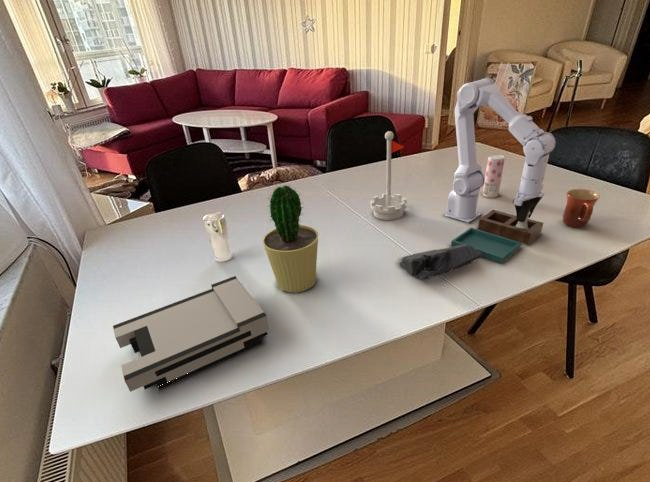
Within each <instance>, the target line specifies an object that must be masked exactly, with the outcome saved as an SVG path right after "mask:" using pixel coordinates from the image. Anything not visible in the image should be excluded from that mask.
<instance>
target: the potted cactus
mask: <svg viewBox="0 0 650 482" xmlns="http://www.w3.org/2000/svg"><path fill="white" fill-rule="evenodd" d="M279 185H280V186H279ZM279 185H276V188H274V189H272V193H269V196H270V197H267V199H269V205H267V207H268V208H269V209H268V210H266V211H268V212H269V214H270V218H269V219H268V221H269V222H270V221H272V222H273V224H274V226H275V228H274V229H272V230H269V232H267V233H266V234H265V235H264V236H263V238H262V244H263V247H264V250H265V252H266V255H267V258H268V261H269V264H270V267H271V270H272V273H273V275H274V278H275V281H276V284H277V286H278V288H279V289H280V290H282V291H284V292H286V293H300V292H305V291H307V290H309V289H311V288H312V287H313V286H314V285H315V283H316V279H317V264H318V263H317V262H318V246H319V231H317V230H316V229H315V228H314V227H312V226H310V225H305V224H301V223H302V222H303V221H301V220H302V218H301V216H303V215H304V213H302V209H303V208H302V204H305V203H304V201H303V202H301V201H302V200H301V197H300V196H301V193H299V192H298V191H296V189H294V188H295V187H294V188H293V187H291V185H285V184H284V185H281V184H279Z"/></svg>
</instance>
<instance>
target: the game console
mask: <svg viewBox="0 0 650 482" xmlns="http://www.w3.org/2000/svg"><path fill="white" fill-rule="evenodd" d="M112 329H113V333H114V338H115V340H116V342H117V345H118V346H119V348H120V349H122V348H124V347H128V346H129V345H130V346H131V348H132V350H133V353H134V354H138V353H139V354H140V357H138V358H136V359H132V360H130V361H128V362H125V363H123V364H121V365H120V366H121V371H122V376H123V380H124V383H125V385H126V386H127V388H128V391H129V392H130V393H131V392H133V391H136V390H139V389H140V388H143V389H144V390H147V389H150V388H152V387H154V386H157V388H158V389H157V390H158V391H161V390H163V389H165V388H167V387H169V386H171V385H173V384H176V383H177V382H180V381H182V380H184V379H187V378H189V377H191V376H194V375H196V374H198V373H200V372H202V371H204V370H207V369H209V368H211V367H214V366H217V365H218V364H220V363H223V362H225V361H227V360H229V359H231V358H233V357H236V356H239V355H240V354H242V353H244V352H245V353H246V351H249V350H252V349H254V348H255V347H257V346H260V345H262V344H263V341H262V339H263V338H265V337H267V336H269V333H268V332H269V331H271V330H270V325H269V320H268V316H267V314H266V313H265V312H264V310H263V309H262V308H261V306H260V305H259V304H258V303H257V301H256V300H255V299H254V298H253V296H252V295H251V294H250V293H249V291H248V290H247V289H246V288H245V286H244V284H243V283H242V282H241V281H240V280H239V279H238V277H237V276H236V275H234V276H231V277H228V278H226V279H223V280H220V281H218V282H215V283H212V284H211V288H209V289H207V290H205V291H202V292H199V293H196V294H194V295H192V296H188V297H185V298H183V299H180V300H178V301H175V302H172V303H170V304H167V305H164V306H162V307H159V308H156V309H154V310H151V311H148V312H146V313H142V314H141V315H138V316H135V317H132V318H129V319H128V320H124V321H121V322H119V323H116V324H114V325H112ZM187 373H188V374H187ZM176 378H177V379H176ZM169 381H170V382H169ZM167 382H168V383H167ZM162 384H163V385H162ZM160 385H161V386H160ZM158 386H159V387H158Z"/></svg>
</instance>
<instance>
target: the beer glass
mask: <svg viewBox="0 0 650 482" xmlns="http://www.w3.org/2000/svg"><path fill="white" fill-rule="evenodd" d="M202 220H203V225H204V229H205V233H206V235H207V238H208V240H209V242H210V245H211V246H212V249H213V253H214V260H215V261H216V262H218V263H225V262H228V261H230V260H231V259H232V258H233V257H234V254H233V251H232V249H231V245H230V232H229V227H228V223H227V219H226V217H225V214H224V213H223V212H220V211H219V212H218V211H217V212H212V213H208V214H206V215H204V217H203V218H202ZM231 253H232V255H231V256H230V257H228V258H226V259H216V258H215V256H216V257H218V258H223V257H227V256H229V255H230V254H231Z"/></svg>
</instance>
